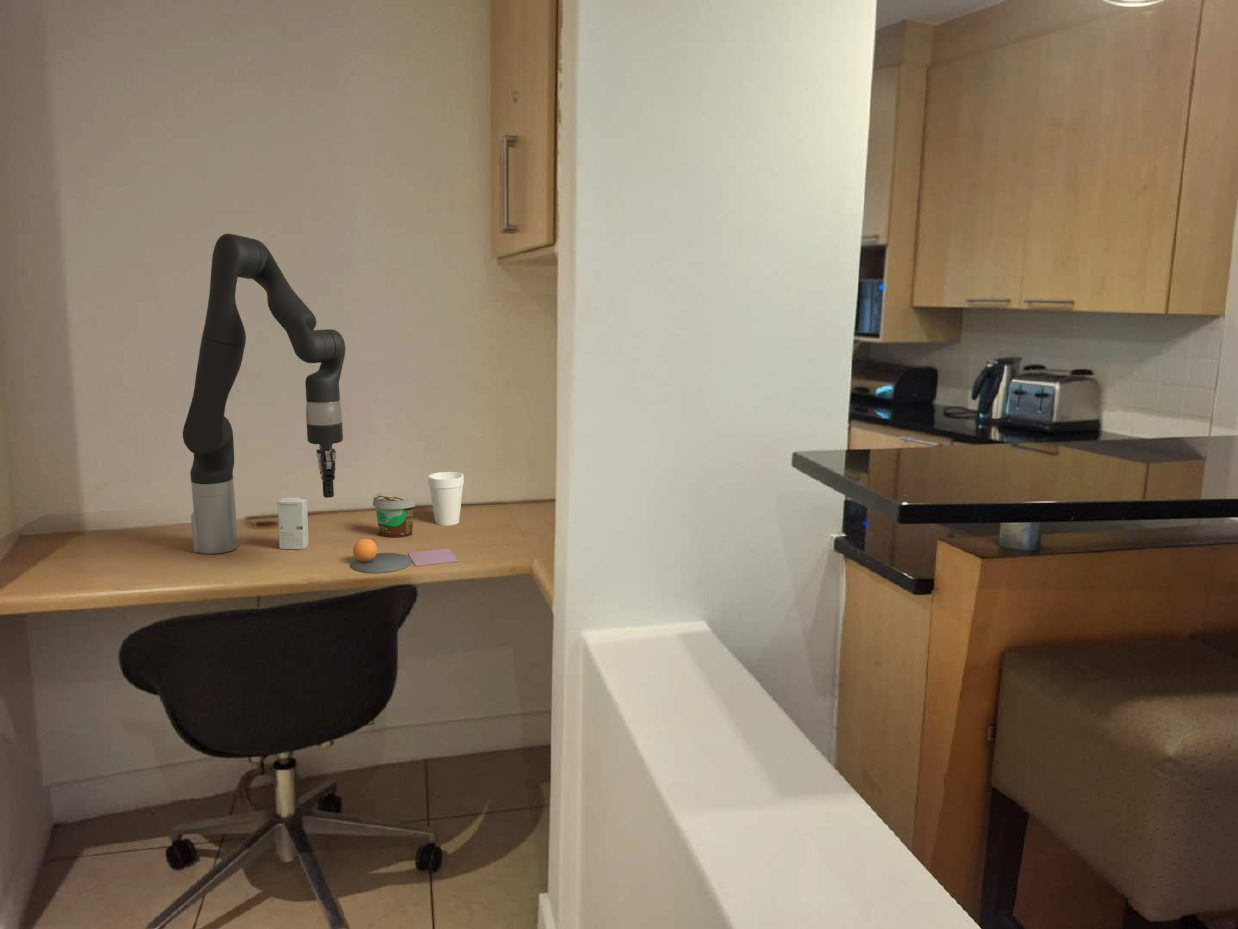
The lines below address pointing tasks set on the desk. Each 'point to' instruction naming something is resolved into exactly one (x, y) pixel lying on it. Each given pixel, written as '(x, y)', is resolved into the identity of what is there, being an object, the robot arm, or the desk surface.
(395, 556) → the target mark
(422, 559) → the far mark
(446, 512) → the foam cup
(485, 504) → the desk surface
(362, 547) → the ball
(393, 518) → the food container
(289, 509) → the white box
